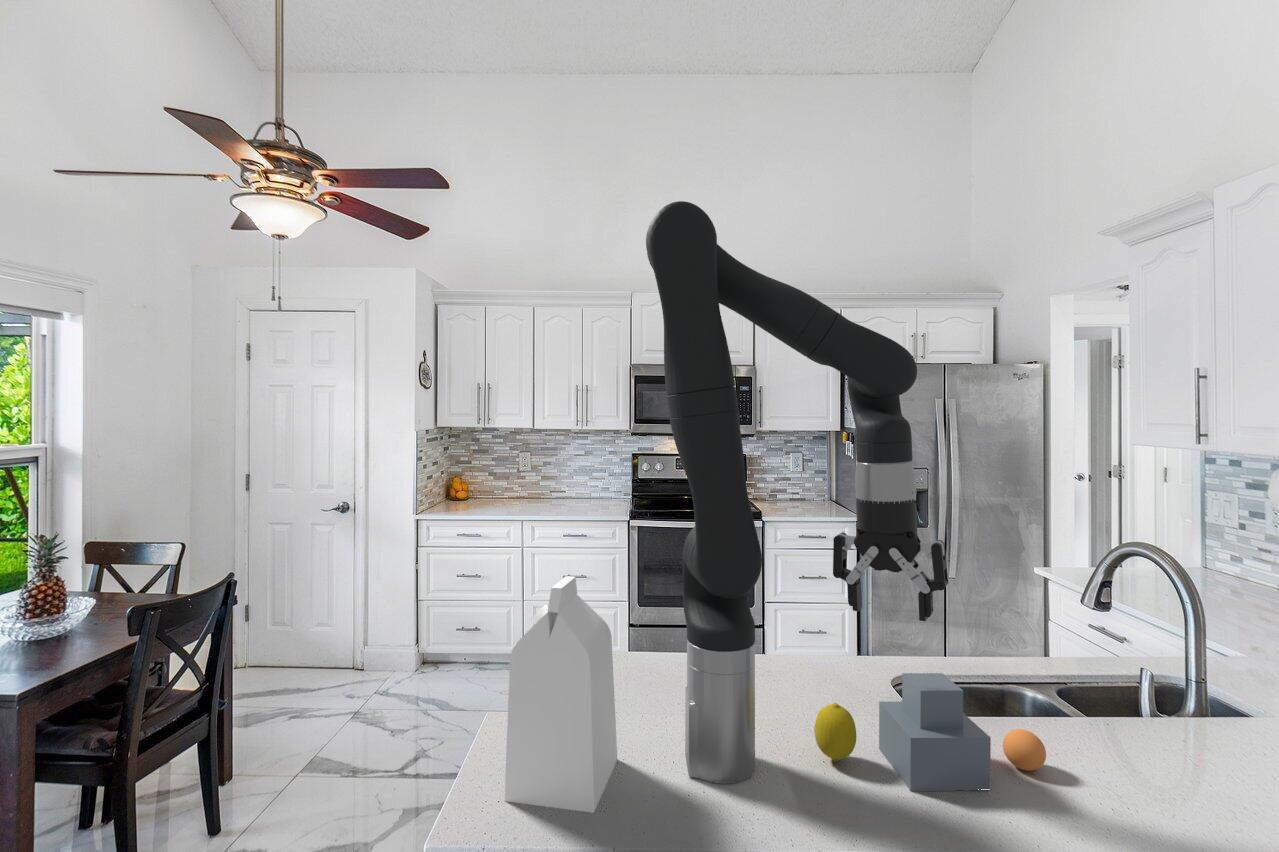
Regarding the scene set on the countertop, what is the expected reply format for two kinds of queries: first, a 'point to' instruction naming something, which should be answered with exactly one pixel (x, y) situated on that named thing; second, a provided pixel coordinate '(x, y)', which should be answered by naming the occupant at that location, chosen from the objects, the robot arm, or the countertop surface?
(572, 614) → the milk
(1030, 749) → the brown egg
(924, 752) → the gray stepped step block
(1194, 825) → the countertop surface
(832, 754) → the lemon
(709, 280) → the robot arm
